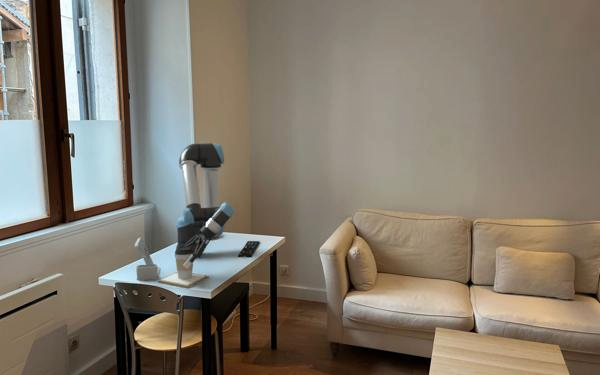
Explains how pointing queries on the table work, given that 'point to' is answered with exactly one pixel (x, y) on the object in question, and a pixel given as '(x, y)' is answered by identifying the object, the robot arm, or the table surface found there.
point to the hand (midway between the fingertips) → (181, 263)
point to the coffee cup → (181, 258)
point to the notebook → (182, 280)
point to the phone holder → (150, 268)
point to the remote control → (249, 249)
